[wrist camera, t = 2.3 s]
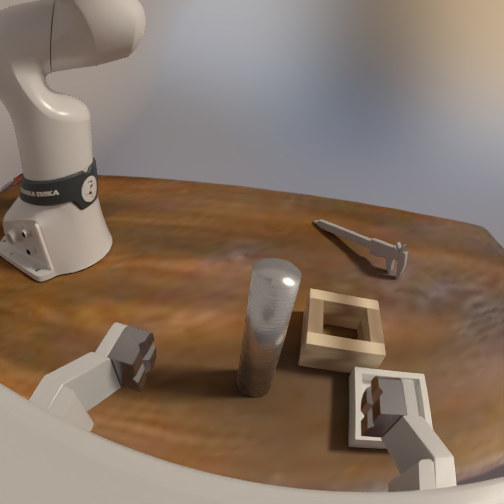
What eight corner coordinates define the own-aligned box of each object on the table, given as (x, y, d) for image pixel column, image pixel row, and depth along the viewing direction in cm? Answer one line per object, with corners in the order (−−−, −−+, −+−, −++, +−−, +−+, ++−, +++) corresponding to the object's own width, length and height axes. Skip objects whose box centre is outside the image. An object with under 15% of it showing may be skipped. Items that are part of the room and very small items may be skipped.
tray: (348, 446, 27) (355, 439, 25) (348, 376, 34) (354, 366, 33) (424, 448, 26) (434, 441, 25) (416, 383, 33) (424, 374, 32)
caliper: (399, 279, 51) (413, 248, 47) (396, 281, 50) (410, 250, 47) (315, 222, 63) (322, 193, 60) (312, 223, 63) (318, 194, 59)
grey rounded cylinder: (233, 393, 31) (248, 283, 23) (240, 366, 34) (256, 254, 26) (267, 400, 31) (299, 293, 22) (272, 373, 34) (302, 263, 25)
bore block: (298, 365, 35) (306, 343, 33) (303, 311, 42) (310, 288, 40) (372, 376, 34) (385, 355, 32) (367, 322, 41) (377, 300, 39)
